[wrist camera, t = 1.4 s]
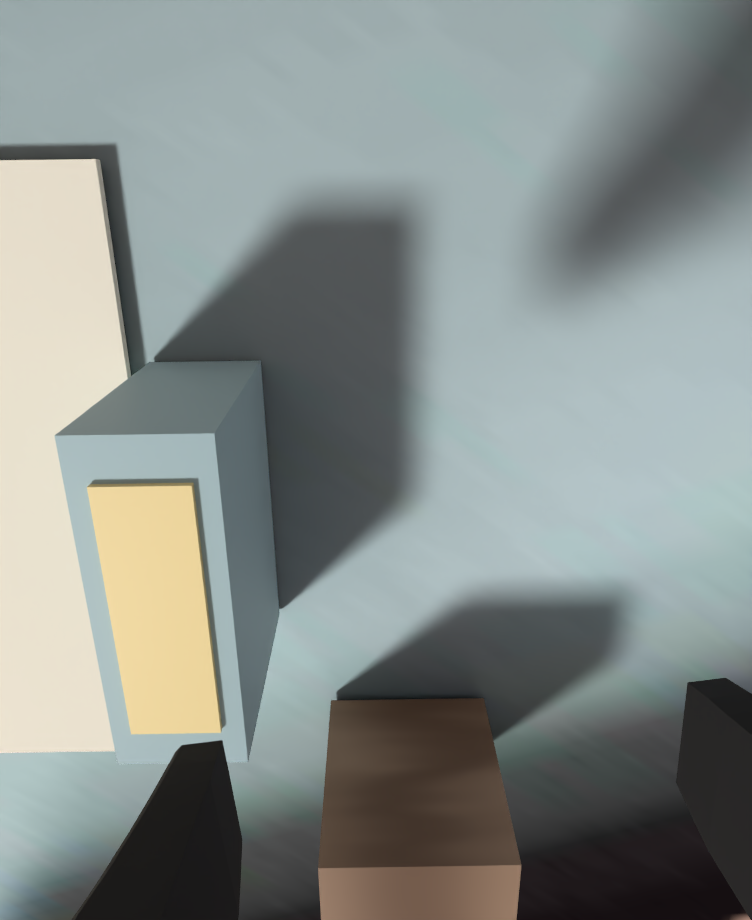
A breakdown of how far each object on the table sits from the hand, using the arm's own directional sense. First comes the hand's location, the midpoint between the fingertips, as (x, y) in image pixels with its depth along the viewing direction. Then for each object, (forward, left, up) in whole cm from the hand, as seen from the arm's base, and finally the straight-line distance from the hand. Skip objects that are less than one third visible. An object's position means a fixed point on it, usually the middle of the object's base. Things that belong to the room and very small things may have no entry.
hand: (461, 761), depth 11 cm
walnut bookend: (0, +8, -10) cm, 13 cm away
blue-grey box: (+6, 0, -10) cm, 12 cm away
